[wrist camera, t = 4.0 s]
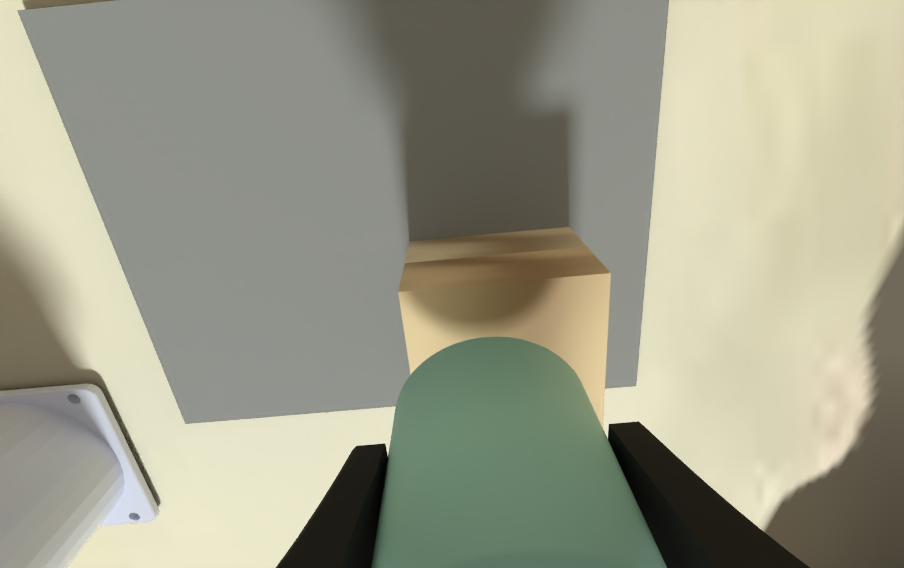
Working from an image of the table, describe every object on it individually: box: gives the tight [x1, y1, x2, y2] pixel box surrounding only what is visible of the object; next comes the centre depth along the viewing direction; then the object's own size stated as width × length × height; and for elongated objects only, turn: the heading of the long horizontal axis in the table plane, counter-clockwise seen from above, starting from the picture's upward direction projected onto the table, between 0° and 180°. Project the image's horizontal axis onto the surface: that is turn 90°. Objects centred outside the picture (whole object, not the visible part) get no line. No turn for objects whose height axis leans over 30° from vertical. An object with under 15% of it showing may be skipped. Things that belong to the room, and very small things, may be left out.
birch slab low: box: [405, 227, 587, 263], centre depth 17 cm, size 6×6×2 cm
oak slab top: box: [398, 247, 611, 428], centre depth 15 cm, size 6×6×2 cm
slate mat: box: [17, 0, 669, 424], centre depth 17 cm, size 20×16×1 cm
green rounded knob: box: [371, 336, 667, 568], centre depth 9 cm, size 5×5×5 cm
